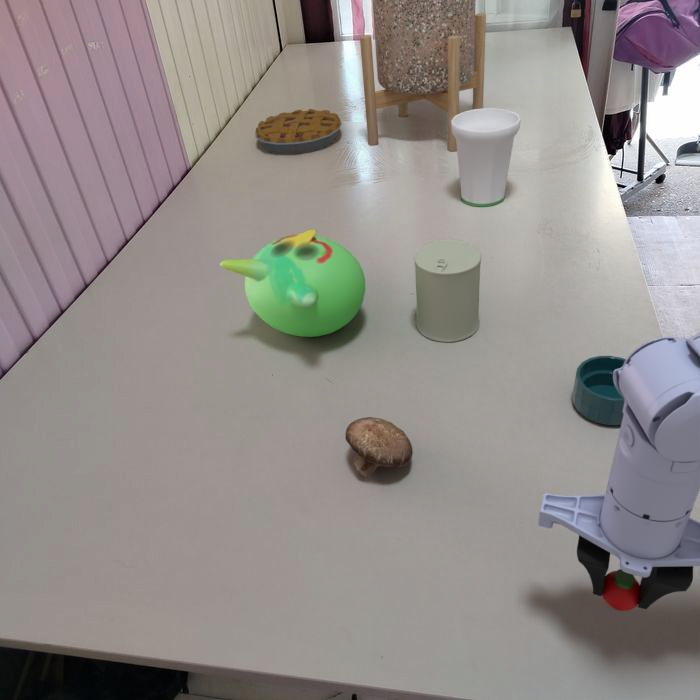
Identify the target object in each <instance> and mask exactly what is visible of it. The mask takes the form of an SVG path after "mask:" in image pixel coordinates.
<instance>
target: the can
mask: <svg viewBox="0 0 700 700" xmlns="http://www.w3.org/2000/svg"><path fill="white" fill-rule="evenodd" d="M413 260H414V261H413V262H414V272H415V292H416V293H415V295H416V297H415V298H416V319H415V320H416V322H415V325H416V329H417V330H418V332H419V333H420V334H421V335H422V336H423V337H425V338H426V339H429V340H431V341H435V342H440V343H455V342H461V341H464V340H466V339H468V338H470V337H473V335H475V333H477V331H478V329H479V327H480V318H479V316H480V312H479V311H480V310H479V309H480V283H481V281H480V279H481V263H482V252H481V251H480V249H479V248H478V246H476V245H474V244H473V243H470V242H468V241H466V240H465V241H464V240H460V239H439V240H434V241H431V242H428V243H425V244H423V245H422V246H420V247H419V248H418V249H417V250H415V254H414V256H413Z"/></svg>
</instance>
